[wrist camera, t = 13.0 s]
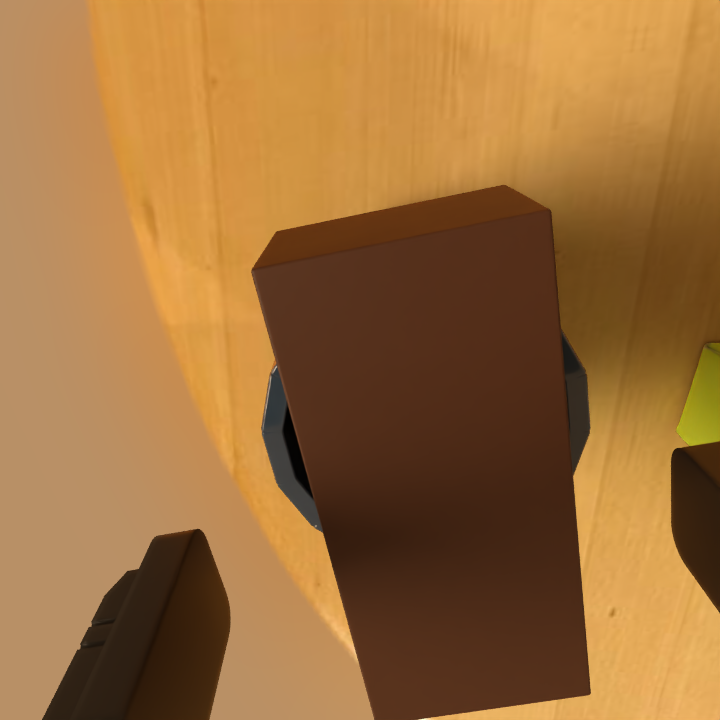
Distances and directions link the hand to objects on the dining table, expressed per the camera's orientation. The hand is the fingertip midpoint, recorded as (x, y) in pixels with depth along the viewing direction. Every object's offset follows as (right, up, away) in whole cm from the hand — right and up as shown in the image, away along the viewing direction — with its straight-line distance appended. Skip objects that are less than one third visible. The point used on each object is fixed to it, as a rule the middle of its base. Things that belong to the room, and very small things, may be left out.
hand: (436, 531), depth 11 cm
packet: (0, +1, +3) cm, 3 cm away
